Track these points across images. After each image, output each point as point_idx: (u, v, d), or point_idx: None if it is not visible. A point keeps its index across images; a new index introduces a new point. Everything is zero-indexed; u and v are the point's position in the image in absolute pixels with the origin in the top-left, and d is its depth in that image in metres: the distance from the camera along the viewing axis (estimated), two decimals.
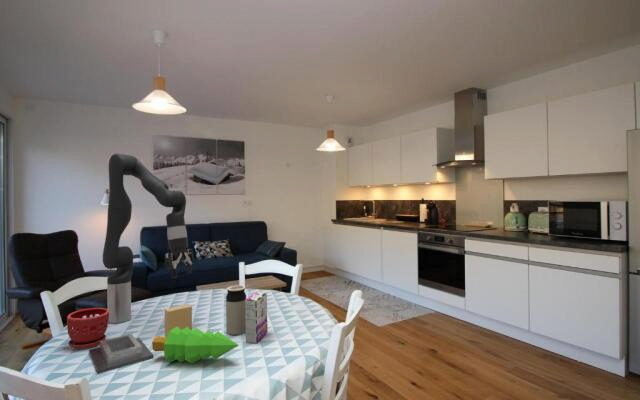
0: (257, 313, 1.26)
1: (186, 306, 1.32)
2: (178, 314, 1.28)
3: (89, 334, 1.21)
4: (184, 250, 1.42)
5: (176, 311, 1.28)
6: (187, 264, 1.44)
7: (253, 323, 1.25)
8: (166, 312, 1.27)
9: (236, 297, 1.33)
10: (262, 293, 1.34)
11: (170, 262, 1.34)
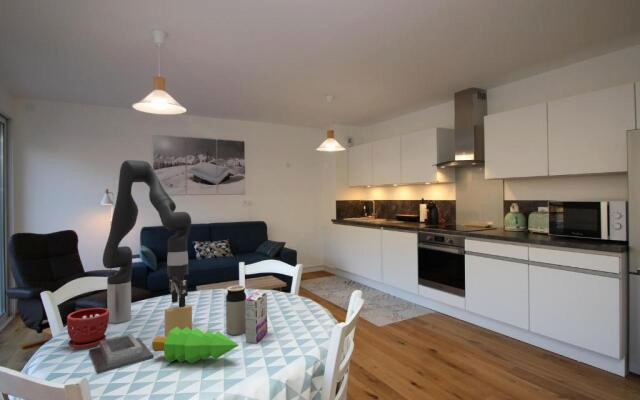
0: (257, 313, 1.26)
1: (186, 306, 1.32)
2: (178, 314, 1.28)
3: (89, 334, 1.21)
4: None
5: (176, 311, 1.28)
6: (174, 292, 1.33)
7: (254, 323, 1.25)
8: (166, 312, 1.27)
9: (236, 297, 1.33)
10: (262, 293, 1.34)
11: None
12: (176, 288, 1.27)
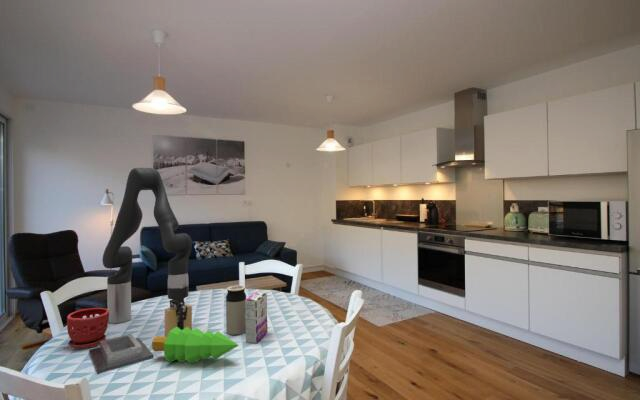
0: (257, 313, 1.26)
1: None
2: None
3: (89, 334, 1.21)
4: None
5: None
6: None
7: (254, 323, 1.25)
8: (166, 312, 1.27)
9: (236, 297, 1.33)
10: (262, 293, 1.33)
11: None
12: None
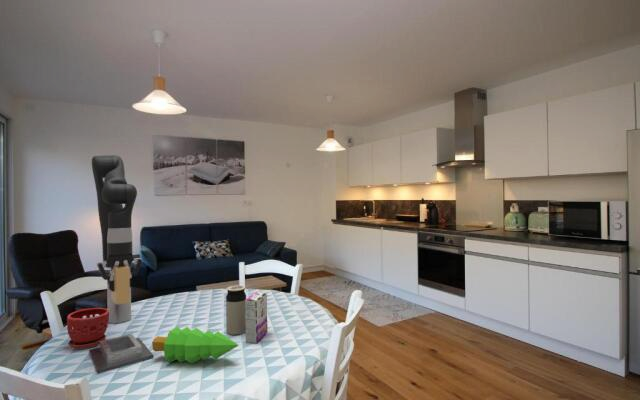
0: (257, 313, 1.26)
1: None
2: None
3: (89, 334, 1.21)
4: None
5: None
6: (113, 278, 1.15)
7: (254, 323, 1.25)
8: (123, 270, 1.14)
9: (236, 297, 1.33)
10: (262, 293, 1.34)
11: None
12: None
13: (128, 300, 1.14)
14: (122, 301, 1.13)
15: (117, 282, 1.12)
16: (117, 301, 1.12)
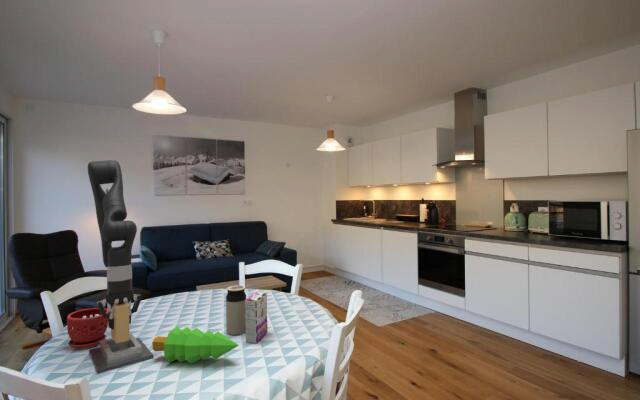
0: (257, 313, 1.26)
1: None
2: None
3: (89, 334, 1.21)
4: None
5: None
6: None
7: (253, 323, 1.25)
8: (123, 308, 1.13)
9: (236, 297, 1.33)
10: (262, 293, 1.33)
11: None
12: (129, 305, 1.17)
13: (128, 338, 1.14)
14: (122, 340, 1.13)
15: (117, 321, 1.12)
16: (117, 340, 1.12)
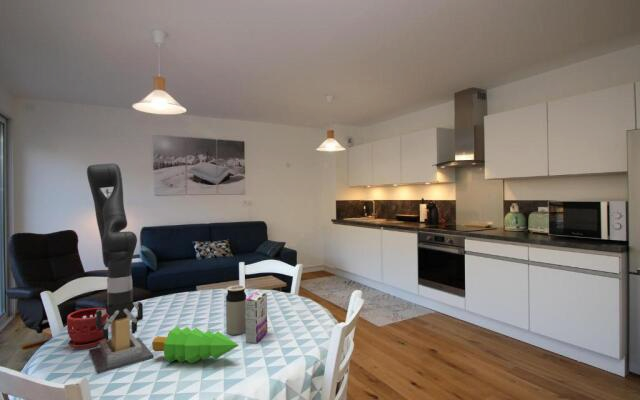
0: (257, 313, 1.26)
1: None
2: None
3: (89, 334, 1.21)
4: None
5: (127, 319, 1.17)
6: None
7: (254, 323, 1.25)
8: (123, 323, 1.13)
9: (236, 297, 1.33)
10: (262, 293, 1.34)
11: None
12: (131, 314, 1.17)
13: None
14: None
15: (117, 336, 1.12)
16: None
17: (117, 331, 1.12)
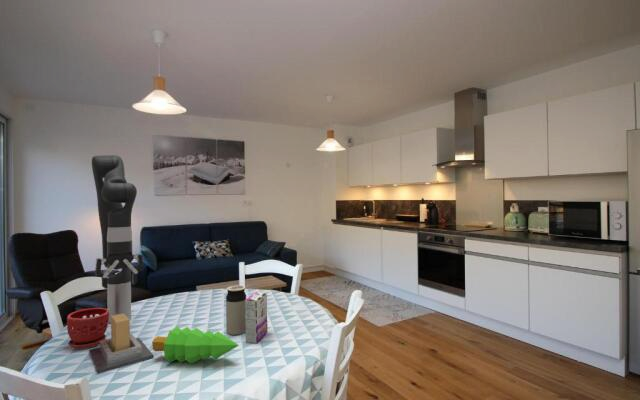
0: (257, 313, 1.26)
1: (119, 315, 1.19)
2: None
3: (89, 334, 1.21)
4: None
5: (127, 319, 1.17)
6: None
7: (254, 323, 1.25)
8: (123, 323, 1.13)
9: (236, 297, 1.33)
10: (262, 293, 1.34)
11: None
12: (131, 265, 1.18)
13: None
14: None
15: (117, 336, 1.12)
16: None
17: (117, 331, 1.12)
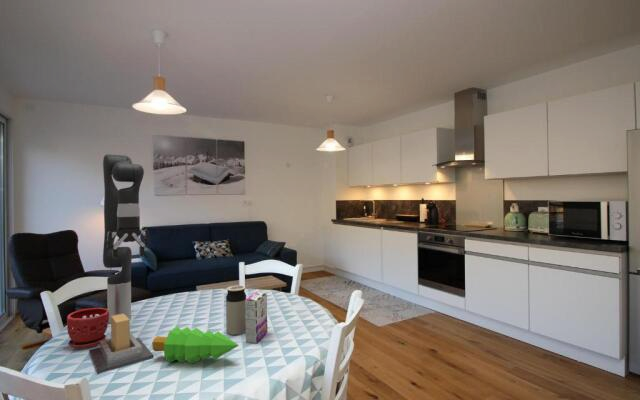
0: (257, 313, 1.26)
1: (119, 315, 1.19)
2: None
3: (89, 334, 1.21)
4: None
5: (127, 319, 1.17)
6: (116, 248, 1.25)
7: (254, 323, 1.25)
8: (123, 323, 1.13)
9: (236, 297, 1.33)
10: (262, 293, 1.34)
11: None
12: (139, 238, 1.29)
13: None
14: None
15: (117, 336, 1.12)
16: None
17: (117, 331, 1.12)
